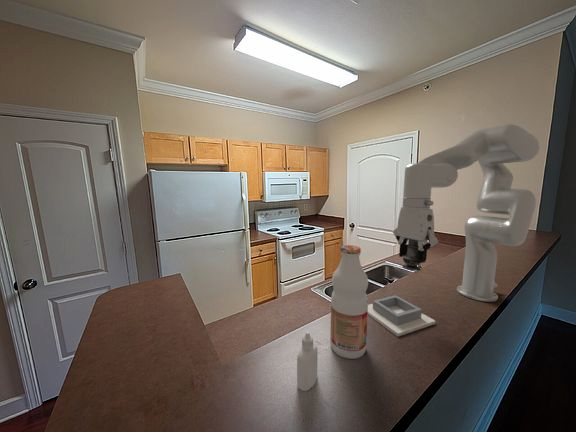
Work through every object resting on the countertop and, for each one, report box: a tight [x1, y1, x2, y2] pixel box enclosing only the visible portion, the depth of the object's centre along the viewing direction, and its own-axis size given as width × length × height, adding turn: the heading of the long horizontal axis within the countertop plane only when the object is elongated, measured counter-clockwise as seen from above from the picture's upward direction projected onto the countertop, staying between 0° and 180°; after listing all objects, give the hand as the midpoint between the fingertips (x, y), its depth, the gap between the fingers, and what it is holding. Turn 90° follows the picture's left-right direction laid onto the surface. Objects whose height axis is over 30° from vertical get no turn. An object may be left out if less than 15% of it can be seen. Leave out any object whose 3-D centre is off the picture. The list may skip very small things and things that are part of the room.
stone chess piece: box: [401, 239, 422, 272], centre depth 73 cm, size 6×6×12 cm
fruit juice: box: [329, 244, 369, 360], centre depth 60 cm, size 9×9×28 cm
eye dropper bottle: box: [296, 331, 318, 392], centre depth 50 cm, size 4×6×12 cm
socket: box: [367, 294, 436, 337], centre depth 76 cm, size 16×16×4 cm
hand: (411, 258), depth 74 cm, fingers closed on stone chess piece, 5 cm apart
